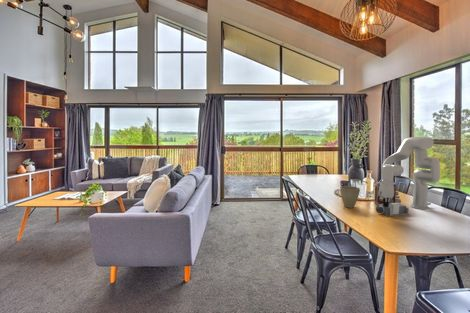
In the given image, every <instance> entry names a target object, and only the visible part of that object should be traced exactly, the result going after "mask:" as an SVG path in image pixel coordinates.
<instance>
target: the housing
mask: <svg viewBox="0 0 470 313" xmlns="http://www.w3.org/2000/svg"><path fill="white" fill-rule="evenodd" d="M375 211H376V213H378V214H381V215H384V216H389V217H396V216H405V215H406V216H407V215H409V207H407V205H404V204H402V203H399V214H393V215H391V214H390V203H389V207H384V206H383V204H377V205H376V207H375Z"/></svg>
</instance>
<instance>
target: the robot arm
mask: <svg viewBox="0 0 470 313" xmlns="http://www.w3.org/2000/svg"><path fill="white" fill-rule="evenodd" d="M434 141H435V140H434V139H433V138H432V137H427V136H425V137H423V136H422V137H420V136H411V137H408V138H405V139H403V141H402V142H401V144H400V146H399V147H398V149H397V151H395V152H394V153H393V154H391V155H390V156H387V158H385V159H384V161H383V163H382V164H381V167H380V170H381V180H380V182H381V184H380V186H379V192H378V196H379V197H380V199H382V200H383V206H384V207H389V201H390V199H393V197H394V185H393V183H395V181H394V177H395V176H400V175H403V173H404V167H403V166H402V165H399V164H394V163H396V162H400V161H403V160H407V159H408V158H409V157H410V156H411V154H412V152H413V154H414V166H415V167H416V168H418V169H415V170H414V171H413V172H412V177H413V178H412V179H413V192H412V194H413V195H412V203H411V204H410V205H409V206H410V207H411V208H414V209H417V210H418V209H419V210H429V209H430V207H429V206H431V205H432V202H428V198H429V197H428V193H429V185H428V184H427V183H432V184H437V183H439V182H440V179H441V168H440V167H441V163H440V160H439V159H438V158H437V157H435V156H434V157H432V156H428V155H429V153H428V149H431V148H432V147H433V146H434Z"/></svg>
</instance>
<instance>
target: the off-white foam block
mask: <svg viewBox="0 0 470 313" xmlns="http://www.w3.org/2000/svg"><path fill="white" fill-rule="evenodd" d="M399 204H400V203H390V214H391V215H393V214H399Z"/></svg>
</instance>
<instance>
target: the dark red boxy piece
mask: <svg viewBox="0 0 470 313" xmlns="http://www.w3.org/2000/svg"><path fill="white" fill-rule="evenodd" d="M380 184H381V181H376V182H375V184H374V204H375V205H376V206H377V204H383V200H382V199H380V197H379V196H378V192H379V186H380ZM393 185H394V197H393V199H390V201H389V203H399V204H402V199H401V198H400V196H399V191H398V190H397V183H396V182H393Z"/></svg>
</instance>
